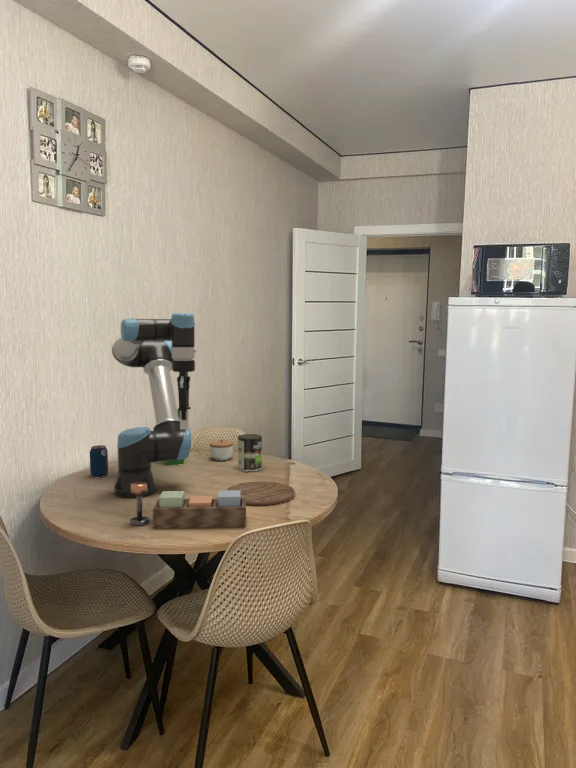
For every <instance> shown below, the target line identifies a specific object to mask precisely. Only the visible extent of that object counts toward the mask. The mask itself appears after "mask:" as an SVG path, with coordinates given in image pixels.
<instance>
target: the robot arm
mask: <svg viewBox="0 0 576 768" xmlns="http://www.w3.org/2000/svg"><path fill="white" fill-rule="evenodd" d="M195 325H196V323H195V316H194V314H193V313H188V312H187V313H185V312H184V313H181V312H180V313H179V312H176V313H175V312H174V313H172V315H171V318H133V317H132V318H124V319H122V320H121V322H120V336H121V337H120V338H117V339H116V340H115V341H114V343H113V345H112V348H111V354H112V356H113V358H114V359H115V360H116V362H118V363H119V364H121V365H123V366H126V367H129V368H143V369H142V370H143V372H144V374H146V375H147V376H148V381H149V387H150V392H151V398H152V405H153V411H154V418H155V425H154V426H153V428H152V429H153V430H151V428H150V427H148V426H138V427H132V428H129V429H125V430H122V431H121V432H120V433H119V434H118V435H117V445H116V446H117V467H118V469H117V470H118V471H117V475H116V479H115V482H114V486H113V495H114V496H117V497H121V498H129V499H130V498H132V499H133V498H137V494H132V493H131V484H132V483H135V482H146V483H147V492H146V493H143V494H142V498H143V497H147V496H150V495H153V494H155V493H156V492H157V483H156V480H155V477H154V475H153V471H152V463H160V462H161V463H162V462H166V461H175V460H176V461H177V460H182V459H184V460H185V459H187V458H188V457H190V456H189V455H190V453H191V448H192V432H191V430H190V429H191V428H190V427H189V425H190V424H189V423H190V422H189V421H190V420H189V410H191V407H190V404H189V403H190V402H189V401H190V382H191V376H189V373H192V372H194V371H196V362H195V361H196V360H195V353H197V349H195V346H196V345H195V344H196V343H195V339H196V338H195V337H196V336H195ZM171 371H172V372H174V373H178V376H177V377H176V382H177V383H176V384H177V390H178V391H177V392H178V406H177V402H176V397H175V391H174V386H173V381H172V376H171ZM177 407H179V408H178V410H180V420H179V417H178V412H177Z"/></svg>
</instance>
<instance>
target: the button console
mask: <svg viewBox="0 0 576 768" xmlns="http://www.w3.org/2000/svg"><path fill="white" fill-rule="evenodd" d="M189 501H190V498H185V503H184V506H183V507H181V508H159V498H158V499H157V501H156V503H155V504H154V506H153V509H152V520H153V521H152V522H153V523H152V525H153V527H152V528H153V529H191V528H202V529H203V528H246V525H247V505H246V498H241V504H240V507H218V497H214V498H213V507H189Z"/></svg>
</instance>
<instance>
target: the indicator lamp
mask: <svg viewBox="0 0 576 768" xmlns="http://www.w3.org/2000/svg"><path fill="white" fill-rule="evenodd" d="M146 492H147V483H146V482H135V483H132V484H131V493H132V494H137V497H136V516H135V517H132V518H131V519H130V520H129V525H130V526H132V527H133V526H134V527H143V526H147V525H149V524H150V522H151V521H150V517H148V516H143V497H142V494H143V493H146Z"/></svg>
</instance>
